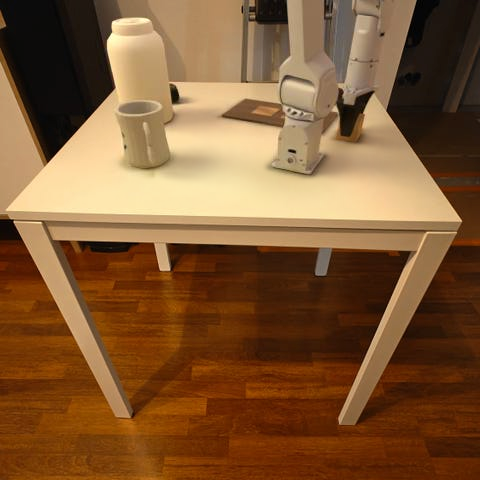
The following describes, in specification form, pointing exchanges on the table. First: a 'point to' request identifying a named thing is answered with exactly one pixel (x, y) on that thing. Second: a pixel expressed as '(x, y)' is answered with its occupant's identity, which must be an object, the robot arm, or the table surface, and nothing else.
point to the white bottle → (139, 63)
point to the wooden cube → (355, 132)
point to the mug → (143, 133)
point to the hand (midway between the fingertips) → (349, 129)
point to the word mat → (265, 113)
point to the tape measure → (174, 92)
